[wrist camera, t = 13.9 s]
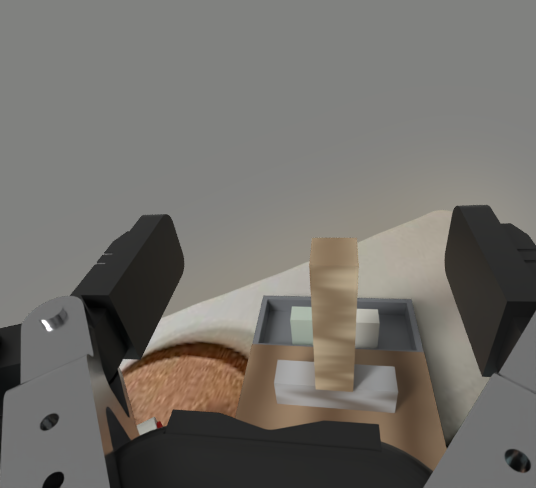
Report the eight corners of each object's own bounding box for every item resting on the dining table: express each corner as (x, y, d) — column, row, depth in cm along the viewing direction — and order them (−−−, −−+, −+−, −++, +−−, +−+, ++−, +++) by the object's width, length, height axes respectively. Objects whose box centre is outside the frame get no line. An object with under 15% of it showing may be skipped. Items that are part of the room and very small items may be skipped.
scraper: (391, 385, 34) (411, 237, 25) (395, 416, 32) (419, 266, 23) (280, 377, 36) (262, 237, 27) (276, 406, 34) (254, 264, 24)
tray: (409, 315, 45) (411, 299, 43) (421, 372, 38) (424, 355, 37) (265, 310, 48) (263, 295, 46) (254, 362, 41) (251, 347, 40)
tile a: (377, 349, 41) (375, 335, 42) (379, 323, 38) (377, 309, 40) (339, 348, 41) (338, 333, 43) (339, 321, 39) (339, 308, 41)
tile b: (329, 347, 41) (329, 333, 43) (328, 321, 39) (329, 307, 41) (292, 345, 42) (294, 331, 44) (290, 319, 40) (291, 306, 42)
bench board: (420, 372, 38) (424, 352, 37) (448, 506, 29) (455, 487, 27) (255, 362, 41) (251, 344, 40) (230, 480, 32) (224, 462, 30)
